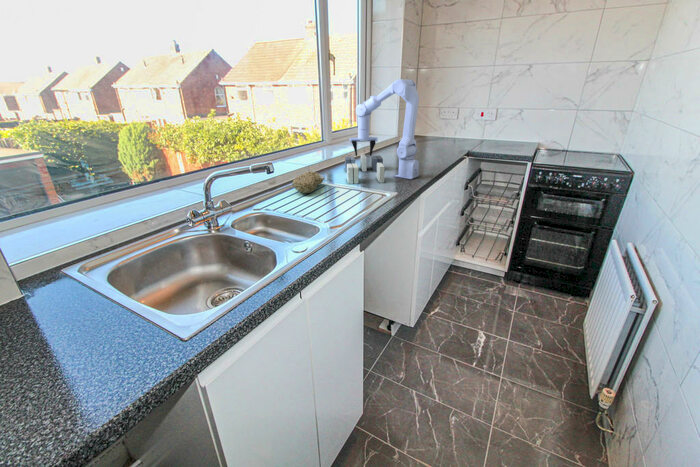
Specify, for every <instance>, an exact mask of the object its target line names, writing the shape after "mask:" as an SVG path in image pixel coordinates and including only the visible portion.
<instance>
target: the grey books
mask: <svg viewBox="0 0 700 467" xmlns="http://www.w3.org/2000/svg"><path fill="white" fill-rule="evenodd" d="M370 157H371V164H370V168H371V169H372V171H373V172H377V163H382V164H383V165H384V158H383V157H382V156H381V155H372V156H370ZM354 163H356V158H355V156H354V155H350V156H349V155H348V156H347V155H346V156H344V169H345V172H346V173H347V164H354Z"/></svg>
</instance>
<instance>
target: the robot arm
mask: <svg viewBox="0 0 700 467" xmlns="http://www.w3.org/2000/svg"><path fill="white" fill-rule="evenodd" d="M417 86H418V85H417V83H416V82H415V81H414V80H413V79H411V78H409V79H401V78H398V79H395V81H393V82H391V83H390V85H388V87H386V88H385V89H384V90H383V91H381V92H380V93H379V94H376V95H375V94H373V95H370V96H369V98H368V99H367V100H364V101H363V103H358V104H357V106H356V107H355V114H356V116H357V137H349V143H351V145H352V147H353V149H354V154H355V157H357V156H358V143H359V142H361V143H365V142H366V143H367V142H368V143H369V156H370V157H371V156H373V155H372V154H373V150H374V148H375V145H376V143H377V142H378V140H379V138H378V137H377V136H370V118H371V114H372V112H374V111H375V110H377V109H378V108H379V107H381V105H382V102H383V101H385V100H386V99H388V98H390V97H391V96H393V95H394V94H396V95H397V96H399V97H401V98H402V99H403V100H404V101H405V111H404V120H403V129H402V138H401V139H400V141H399V142H398V147H397V149H396V156H397V157H398V171H397V174H396V175H394V177H395V178H401V179H408V180H413V179H416V178H418V177H419V176H420V175H419V171H420V162H419V159H415V155H416V154H417V152H418V147H417V140H416V139H415V134H416V133H415V132H416V126H417V118H418V111H419V102H420V96H419V93H418V89H417Z"/></svg>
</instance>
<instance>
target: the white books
mask: <svg viewBox="0 0 700 467" xmlns="http://www.w3.org/2000/svg"><path fill="white" fill-rule="evenodd" d="M359 172H360V171H359V165H358V163H356V162H355V163H354V164H347V172H346V180H347V184H348V185H352V184H355V185H356V184H359V182H360V181H359V180H360V179H359V176H360V175H359ZM376 179H377V181H378V183H379V184H381V183H382V184H383V183H385V166H384V163H383V164H382V163H377V171H376Z"/></svg>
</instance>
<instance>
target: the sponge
mask: <svg viewBox="0 0 700 467" xmlns="http://www.w3.org/2000/svg"><path fill="white" fill-rule="evenodd" d="M324 180H325V177H324V176H323V175H322V174H320V173H318V172H316V171H307V172H306V171H305V172H304V173H302V174H300V175H298V176H297V177H295V179H293V181H292V187H293V188H294V189H295V190H297V192H299V193H301V194H310V193H312V192H314V191H315V190H316V189H317V186H319V185H322V184H323V182H324Z"/></svg>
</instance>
